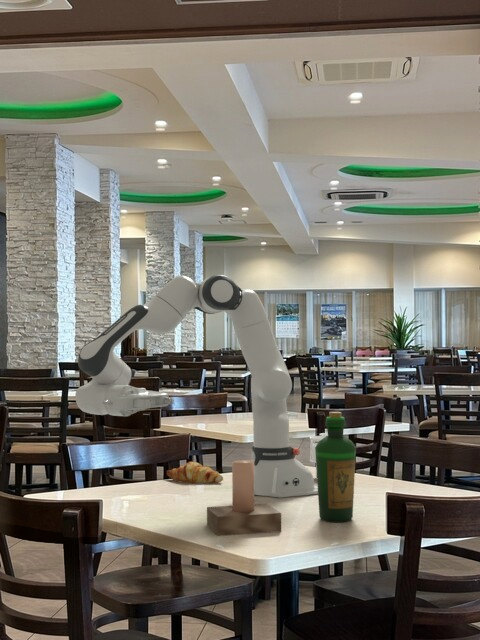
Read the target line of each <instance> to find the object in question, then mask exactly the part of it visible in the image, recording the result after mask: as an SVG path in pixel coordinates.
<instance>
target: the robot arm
mask: <svg viewBox="0 0 480 640" xmlns="http://www.w3.org/2000/svg"><path fill="white" fill-rule="evenodd" d="M193 309H195V310H197V311H200V312H201V313H203V314H208V315H214V314H219V313H222V312H225V313H226V314H227V315H228V316H229V317H230V320H231V322H232V326H233V328H234V332H235V335H236V338H237V342H238V344H239V345H238V346H239V347H240V351H241V353H242V356H243V359H244V360H245V362H246V365H247V367H248V370H249V373H250V375H251V380H250V391H251V393H250V394H251V410H252V419H253V422H252V423H253V427H252V428H253V429H252V430H253V434H252V435H253V436H252V437H253V446H252V447H251V461H254V496H255V495H257V496H264V497H272V498H274V497H275V498H287V497H289V498H290V497H299V496H308V495H318V485H315V479H314V475H313V473H312V471H311V470H310V468H308V467H306V466H305V465H304V464H303V463H302V462H300V460H298V459H297V458H295V457H296V456H300V454H301V450H300V449H299V448H297V447H293V446H291V445H290V420H289V414H288V406H287V405H288V404H287V398H288V397H289V396H290V394H291V391H292V389H293V382H292V379H291V376H290V373H289V370H288V367H287V365H286V362H285V360H284V358H283V355H282V354H281V350H280V348H279V346H278V344H277V341H276V338H275V335H274V333H273V329H272V326H271V323H270V319H269V316H268V314H267V312H266V309H265V307H264V304H263V302H262V300H261V298H260V297H259V295H258V293H257V292H255V291H254V290H252V289H242V288H240V287H239V286H238V284H237V283H235V282H234V280H233V279H231V278H230V277H228V276H226V275H224V274H215V275H212V276H209V277H207V278H205V279H204V280H203V281H201V282H196V281H194V280H193V279H192V278H190V277H188V276H186V275H177V276H175V277H173V278H172V279H171V280H169V281H168V283H166V284H165V285H164V286H163V287H162V288H161V289H160V290H159V291H158V292H157V293H156V294H155V295H154V296H153V298H151V299H150V300H149V301H148V302H146V303H144V304H136V305H134V306H133V307H131V308H130V309H128V310H127V311H126V312H124V313H123V314H122V315H121V316H120V317H119V318H118V319H116V320H115V321H114V322H113V323H112V324H111V325H109V327H107V328H106V329H105V330H104V331H103V332H102V333H100V334H99V335H98V336H97V337H95V338H94V339H92V340H91V341H89V342H87V343H86V344H85V345H83V346H82V348H81V349H80V351H79V353H78V356H77V357H78V359H77V364H78V365H77V366H78V368H79V369H80V370H81V372H83V373H85V374H86V375H88V376H89V377H91V378H92V379H91V380H90V381H89V382H88V383H86V384H84V385H81V386H79V387H78V388H77V389H76V392H75V403H76V405H77V407H78V408H79V410H81V411H82V412H83V413H87V414H90V415H97V416H99V415H100V416H105V415H110V416H113V417H115V416H116V417H130V416H132V415H133V414H136V413H137V412H138V413H139V412H142V411H146V409H153V408H154V409H155V408H161V407H162V408H163V407H168V406H169V405H173V404H174V398H173V397H169V394H168V393H166V392H162V391H155V390H147V389H146V388H145V387H135V386H132V385H130V384H131V380H132V375H133V374H132V372H133V371H132V369H131V367H130V366H129V365H127V363H126V362H124V360H123V359H121V358H120V357H119V356H118V355H117V354H116V353H115V352H114V349H115V348H116V347H117V346H118V345H119V344H120V343H122V342H123V341H124V340H125V339H126V338H128V337H129V335H131V334H132V333H133V332H135V331H136V330H144V331H145V330H146V331H148V332H151V333H153V334H159V335H160V334H161V335H163V334H169V333H172V331H174V330H175V329H176V328H177V327H178V326H179V325H180V324H181V322H182V321H183V319H184V318H185V317H186V316H187V315H188V314H189V313H190V312H191V311H192V310H193Z"/></svg>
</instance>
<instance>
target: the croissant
mask: <svg viewBox="0 0 480 640" xmlns="http://www.w3.org/2000/svg"><path fill="white" fill-rule="evenodd" d="M166 475H167V477H169V478H171V479H172V480H173V481H174V482H180V483H183V484H184V483H186V484H211V483H213V484H217V483H221V482H222V481H224V477H223V476H222V475H221V474H220V473H219V471H216V470H213V468H211V466H206V465H205V466H204V465H202V464H201V463H199V462H195V461H188V462H186V464H185V465H180V466H179V467H177V468H172V469H170V470H166Z"/></svg>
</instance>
